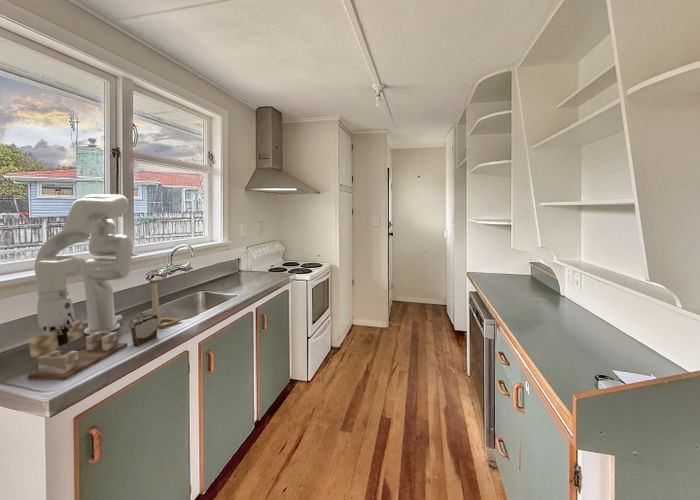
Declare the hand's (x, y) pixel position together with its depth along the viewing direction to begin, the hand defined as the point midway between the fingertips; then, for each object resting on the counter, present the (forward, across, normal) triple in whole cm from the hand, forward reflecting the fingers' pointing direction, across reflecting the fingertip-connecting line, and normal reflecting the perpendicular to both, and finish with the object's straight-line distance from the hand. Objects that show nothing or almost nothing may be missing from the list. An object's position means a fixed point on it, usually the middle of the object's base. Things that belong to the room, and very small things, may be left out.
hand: (59, 343), depth 117 cm
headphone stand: (+6, -17, -34) cm, 38 cm away
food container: (+5, -21, -14) cm, 25 cm away
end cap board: (+4, -12, +4) cm, 14 cm away
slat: (+1, 0, 0) cm, 1 cm away
